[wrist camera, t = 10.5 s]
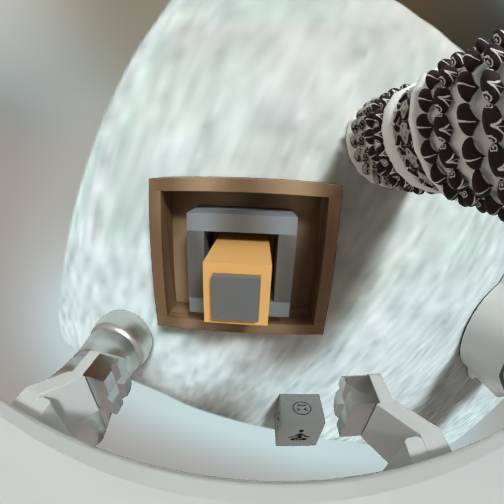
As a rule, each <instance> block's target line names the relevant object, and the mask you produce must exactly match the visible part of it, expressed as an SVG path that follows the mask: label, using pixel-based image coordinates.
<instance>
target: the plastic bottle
mask: <svg viewBox="0 0 504 504" xmlns="http://www.w3.org/2000/svg"><path fill="white" fill-rule="evenodd" d="M151 347H152V335H151V332H150V330H149V328H148V326H147V324H146V323H145V322H144V321H143V320H142V319H141V318H140V317H139V316H137V315H136V314H134V313H132V312H129V311H124V310H113V311H111V312H109V313H107V314H106V315H104V316H102V317H101V318H100V319H99V320H98V322H97V323H96V325H95V326H94V328H93V330H92V332H91V334H90V336H89V337H88V339H87V340H86V342H85V343H84V344H83V346H82V347H81V349H80V350H79V351H78V352H77V353H76V354H75V355H74V356H73V358H72V359H70V360H69V361H68V362H67V363H66V364H65V365H64V366H63V367H62V368H61V369H60V370H59V371H57V372H56V373H55V374H53V375H52V376H51V377H50V378H53V377H55V376H58V375H60V374H63V373H66V372H68V371H70V372H72V371H73V370H74V369H75V368H76V367H77V365H78V364H79V363H80V362H81V361H82V360H83V358H84V357H85V356H86V355H87V354H88V353H89V351H91V350H95V351H99V352H103V353H107V354H111V355H115V356H119V357H123V358H124V359H126V362H127V365H128V366H127V367H126V370H127V371H128V373H129V374H130V376H132V374H133V373H134V372H135V370H136V369H138V368H139V367H140V366H141V365H142V364H143V363H144V361H145V360H146V359H147V358H148V356H149V354H150V350H151ZM50 378H48V379H50ZM110 416H111V412H107V411H104V410H100V409H99V411H97V412H95V413H94V414H92V415H91V416H89V417H88V418H86V419H84V420H83V421H81V422H80V423H78V424H76V425H75V426H73V427H71V428H70V429H68V430H67V431H68V432H69V434H70V435H71V437H73V438H75V439H77V440H80V441H82V442H85V443H87V444H89V445H92V446H95V447H96V446H97V445H98V444H99V443H100V442H101V441H102V439H103V437H104V434H105V432H106V429H107V426H108V423H109V420H110Z"/></svg>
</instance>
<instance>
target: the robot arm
mask: <svg viewBox="0 0 504 504" xmlns="http://www.w3.org/2000/svg"><path fill="white" fill-rule="evenodd" d="M460 356H461V360H462V362H463V363H464V364H465V365H466V366H467V370H468V376H469V377H470V378H471V379H475V378H478V379H479V380H480V381H481V382H482V383H483V384H484V385H485V386H486V387H487V388H488V389H489V390H490V391H491V392H492V393H493V394H494V395H495V396H497V397H502V396H504V276H503V278H502V280H501V281H500V283H499V284H498V285H497V286H496V287H495V288H494V289H493V290H492V291H491V292H490V293H489V294H488V295H487V296H486V297H485V298H484V299H483V301H482V302H481V303H480V305H479V306H478V308H477V309H476V311H475V312H474V314H473V316H472V317H471V319H470V321H469V323H468V325H467V327H466V330H465V332H464V335H463V338H462V342H461V347H460ZM127 366H128V365H127V362H126V359H124V358H123V357H119V356H115V355H111V354H107V353H103V352H99V351H95V350H91V351H89V353H88V354H87V355H86V356H85V357H84V358H83V360H82V361H81V362H80V363H79V364H78V365H77V367H76V368H75V369H74V370H73V371H72V372H70V371H68V372H66V373H63V374H60V375H58V376H55V377H53V378H50V379H48V380H45V381H42V382H39V383H37V384H34V385H31V386H29V387H26V388H25V389H24V390H23V391H22V392H21V394H20V395H19V396H18V397H17V398H16V399H15V400H14V401H13V403H12V404H10V403H8V402H6V401H5V400H3V399H2V398H0V504H504V429H502V430H500V431H498V432H496V433H494V434H492V435H490V436H488V437H486V438H484V439H481V440H479V441H477V442H475V443H472V444H470V445H467V446H465V447H462V448H460V449H457V450H455V451H451V449H450V447H449V445H448V443H447V441H446V439H445V437H444V435H443V433H442V431H441V429H440V428H438V427H437V426H435V425H433V424H432V423H430V422H429V421H427V420H425V419H424V418H422V417H421V416H419V415H418V414H416V413H414V412H413V411H411V410H410V409H408V408H407V407H405V406H404V405H402V404H400V403H399V402H397V401H395V402H394V401H393V399H392V397H391V395H390V393H389V391H388V388H387V386H386V384H385V382H384V380H383V378H382V376H381V374H379V373H377V374H367V375H354V376H342V377H341V378H340V381H339V387H340V389H339V390H338V391H337V392H336V394H335V398H334V412H335V415H336V416H337V417H338V418H339V419H338V422H337V427H338V431H339V436H340V437H344V436H357V435H361V437H362V438H363V439H364V440H365V441H366V442H367V443H368V444H369V445H370V446H371V447H373V448H374V449H375V450H376V451H377V452H378V453H379V454H380V455H381V456H382V457H383V458H384V459H385V460H386V461H387V462H388V463H389V464H388V465H387V466H386V468H385V469H384V470H383V471H381V472H376V473H370V474H364V475H358V476H351V477H344V478H334V479H324V480H308V481H255V480H240V479H228V478H219V477H211V476H205V475H198V474H192V473H187V472H181V471H176V470H171V469H167V468H162V467H158V466H154V465H150V464H147V463H143V462H139V461H136V460H133V459H129V458H126V457H123V456H120V455H116V454H114V453H111V452H108V451H105V450H102V449H99V448H97V447H95V446H92V445H89V444H87V443H85V442H82V441H80V440H77V439H75V438H73V437H71V435H70V434H69V432H68V431H67V430H68V429H70V428H71V427H73V426H75V425H76V424H78V423H80V422H81V421H83V420H84V419H86V418H88V417H89V416H91V415H92V414H94V413H95V412H97V411H99V409H100V410H104V411H107V412H111V413H114V414H117V413H118V412H119V410H120V408H121V406H122V404H123V400H122V398H124V397H126V396H127V395H128V394H129V392H130V389H131V376H130V374H129V373H128V371H127V370H126V367H127Z"/></svg>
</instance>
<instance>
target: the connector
mask: <svg viewBox="0 0 504 504" xmlns="http://www.w3.org/2000/svg"><path fill="white" fill-rule="evenodd" d="M271 275H272V261H271V253H270V245H269V237H268V234H262V233H240V232H221V233H220V234H219V236H218V238H217V239H216V241H215V243H214V244H213V246H212V248H211V249H210V251H209V253H208V254H207V256H206V258H205V259H204V261H203V298H204V322H214V323H228V324H244V325H265V326H268V314H269V301H270V288H271Z"/></svg>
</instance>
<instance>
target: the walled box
mask: <svg viewBox="0 0 504 504" xmlns="http://www.w3.org/2000/svg"><path fill="white" fill-rule="evenodd" d="M341 199H342V186H341V185H337V184H332V183H323V182H311V181H299V180H284V179H266V178H243V177H159V178H150V179H149V221H150V244H151V260H152V273H153V284H154V295H155V304H156V313H157V321H158V325H162V326H170V327H180V328H190V329H201V330H213V331H227V332H244V333H266V334H323V331H324V326H325V321H326V315H327V309H328V303H329V297H330V291H331V284H332V278H333V271H334V263H335V256H336V248H337V239H338V230H339V221H340V210H341ZM221 232H240V233H262V234H268V237H269V245H270V253H271V261H272V275H271V288H270V301H269V314H268V326H265V325H244V324H228V323H214V322H204V298H203V261H204V259H205V258H206V256H207V254H208V253H209V251H210V249H211V248H212V246H213V244H214V243H215V241H216V239H217V238H218V236H219V234H220V233H221Z"/></svg>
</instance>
